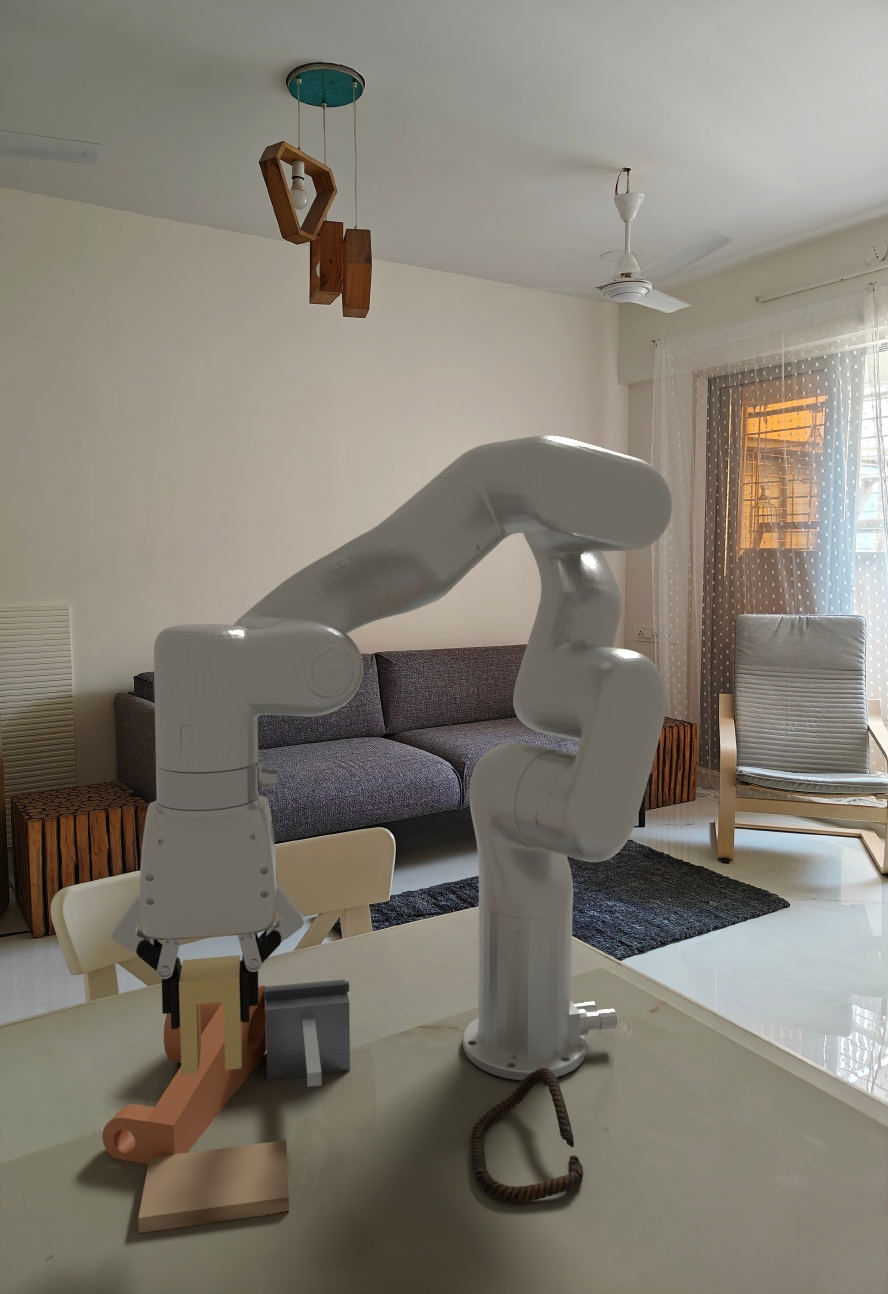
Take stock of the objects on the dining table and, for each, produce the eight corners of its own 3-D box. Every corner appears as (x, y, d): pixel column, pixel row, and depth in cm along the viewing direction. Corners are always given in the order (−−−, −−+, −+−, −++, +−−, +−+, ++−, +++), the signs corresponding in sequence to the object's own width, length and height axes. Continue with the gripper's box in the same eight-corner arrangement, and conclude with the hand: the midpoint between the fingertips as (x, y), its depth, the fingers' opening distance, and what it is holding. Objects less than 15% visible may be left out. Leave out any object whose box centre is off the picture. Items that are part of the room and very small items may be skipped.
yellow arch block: (242, 1041, 72) (240, 955, 71) (241, 1068, 68) (239, 976, 68) (185, 1047, 71) (182, 960, 70) (181, 1075, 67) (178, 982, 67)
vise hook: (346, 1038, 94) (345, 967, 93) (363, 1132, 78) (362, 1047, 77) (264, 1047, 92) (263, 974, 91) (265, 1145, 76) (264, 1057, 76)
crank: (204, 1037, 95) (202, 964, 94) (273, 1045, 93) (272, 972, 92) (89, 1157, 75) (86, 1067, 75) (175, 1171, 73) (172, 1079, 73)
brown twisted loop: (577, 1173, 67) (449, 1145, 70) (575, 1235, 68) (448, 1205, 71) (597, 1064, 80) (488, 1044, 82) (595, 1117, 81) (487, 1096, 83)
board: (286, 1153, 75) (286, 1140, 75) (289, 1211, 68) (288, 1196, 68) (150, 1171, 73) (149, 1157, 73) (138, 1233, 66) (138, 1217, 66)
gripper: (316, 771, 73) (317, 986, 75) (99, 779, 70) (105, 1004, 71) (323, 793, 66) (324, 1031, 67) (80, 803, 63) (87, 1053, 64)
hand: (211, 1014), depth 69 cm, fingers closed on yellow arch block, 4 cm apart
